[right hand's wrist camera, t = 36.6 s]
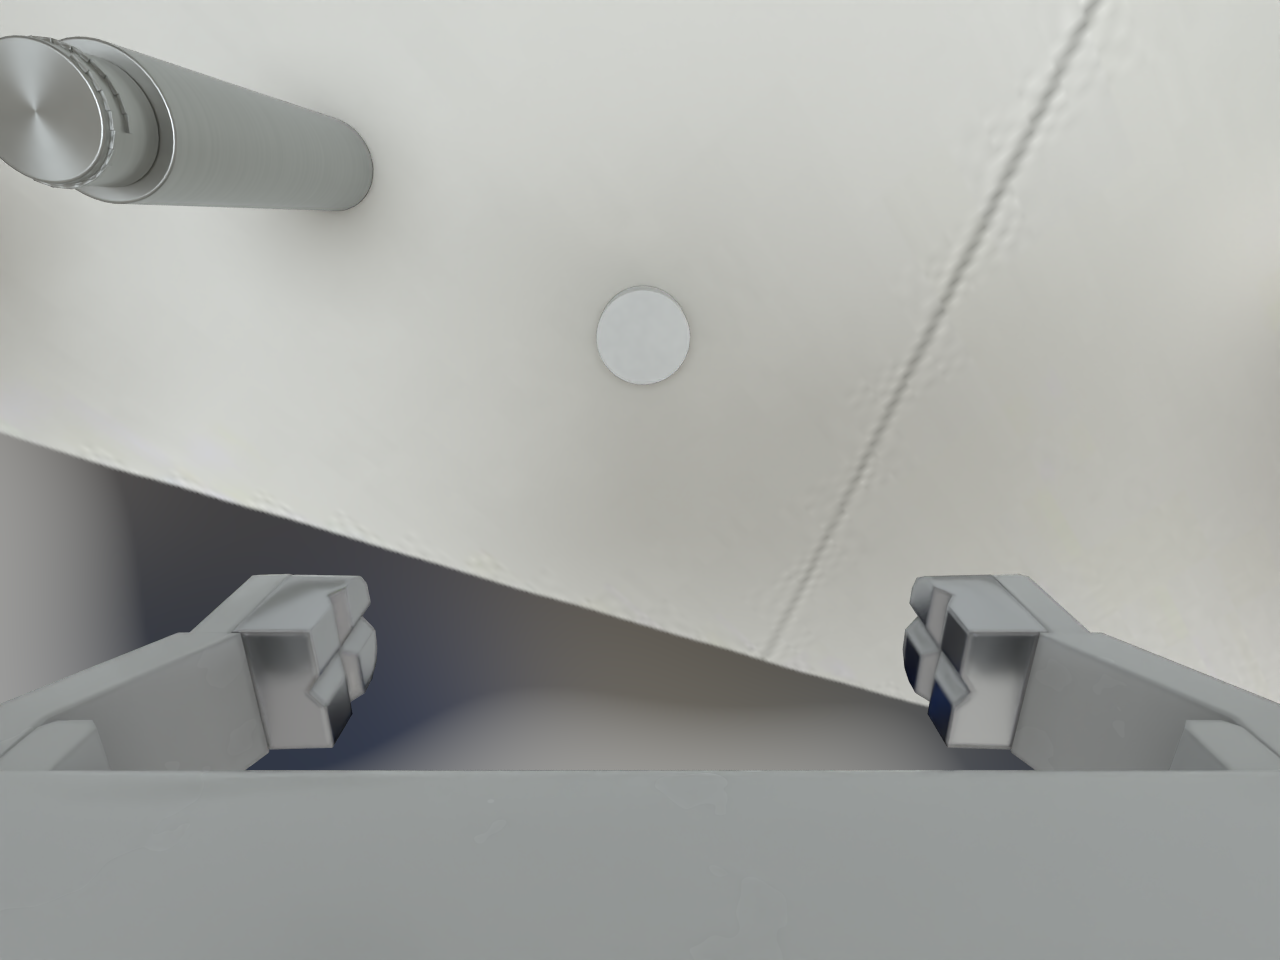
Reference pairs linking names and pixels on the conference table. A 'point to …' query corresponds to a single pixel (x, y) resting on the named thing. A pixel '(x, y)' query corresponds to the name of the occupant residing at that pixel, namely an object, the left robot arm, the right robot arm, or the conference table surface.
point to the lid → (643, 335)
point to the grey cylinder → (167, 132)
